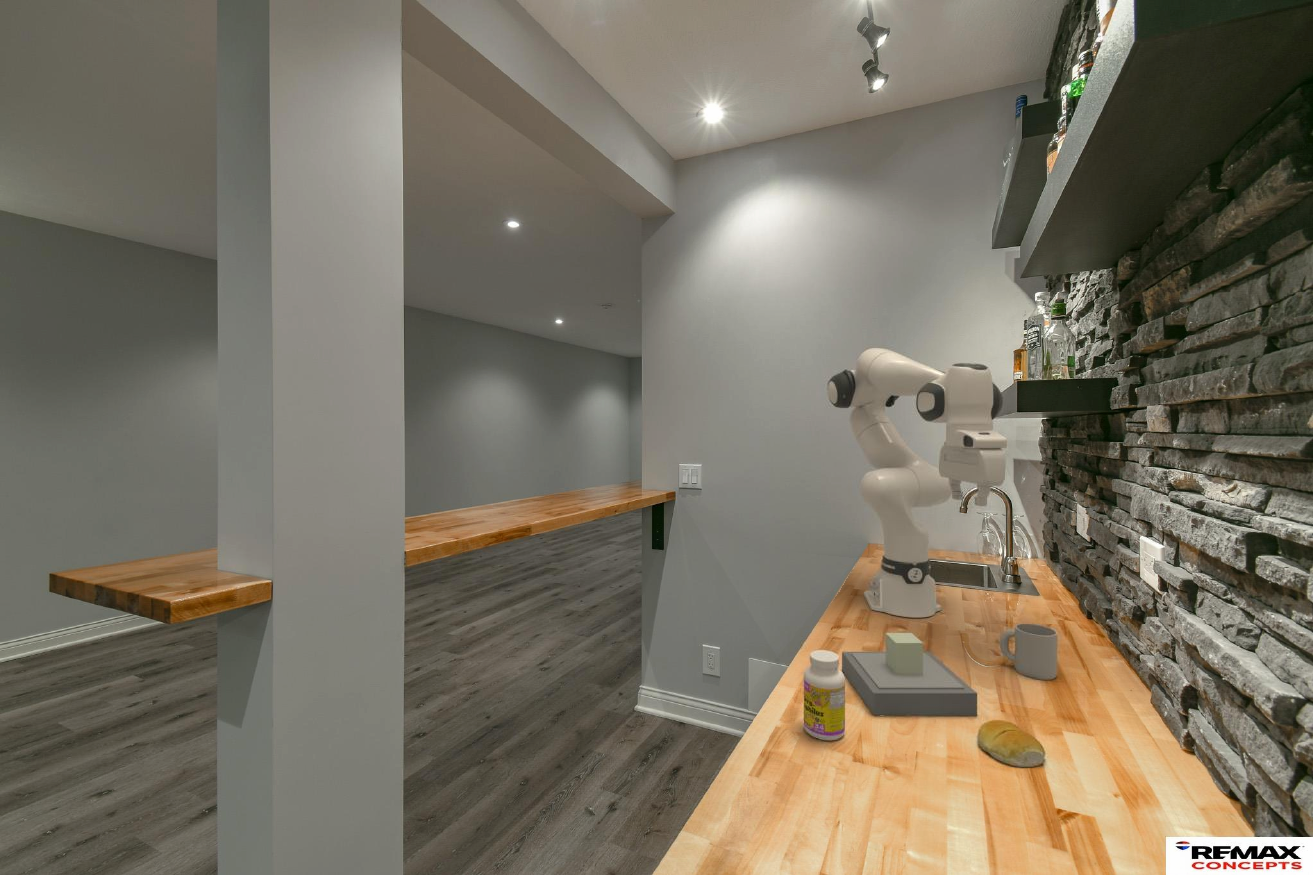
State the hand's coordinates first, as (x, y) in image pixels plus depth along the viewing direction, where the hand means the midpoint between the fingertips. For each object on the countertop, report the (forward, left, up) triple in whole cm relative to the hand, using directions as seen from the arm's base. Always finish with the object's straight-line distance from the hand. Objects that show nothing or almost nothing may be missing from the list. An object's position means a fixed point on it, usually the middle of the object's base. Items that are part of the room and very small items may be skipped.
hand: (968, 502), depth 122 cm
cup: (+6, +9, -34) cm, 36 cm away
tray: (+15, -20, -34) cm, 42 cm away
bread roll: (+35, -11, -34) cm, 50 cm away
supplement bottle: (+29, -39, -34) cm, 59 cm away
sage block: (+15, -20, -30) cm, 39 cm away
